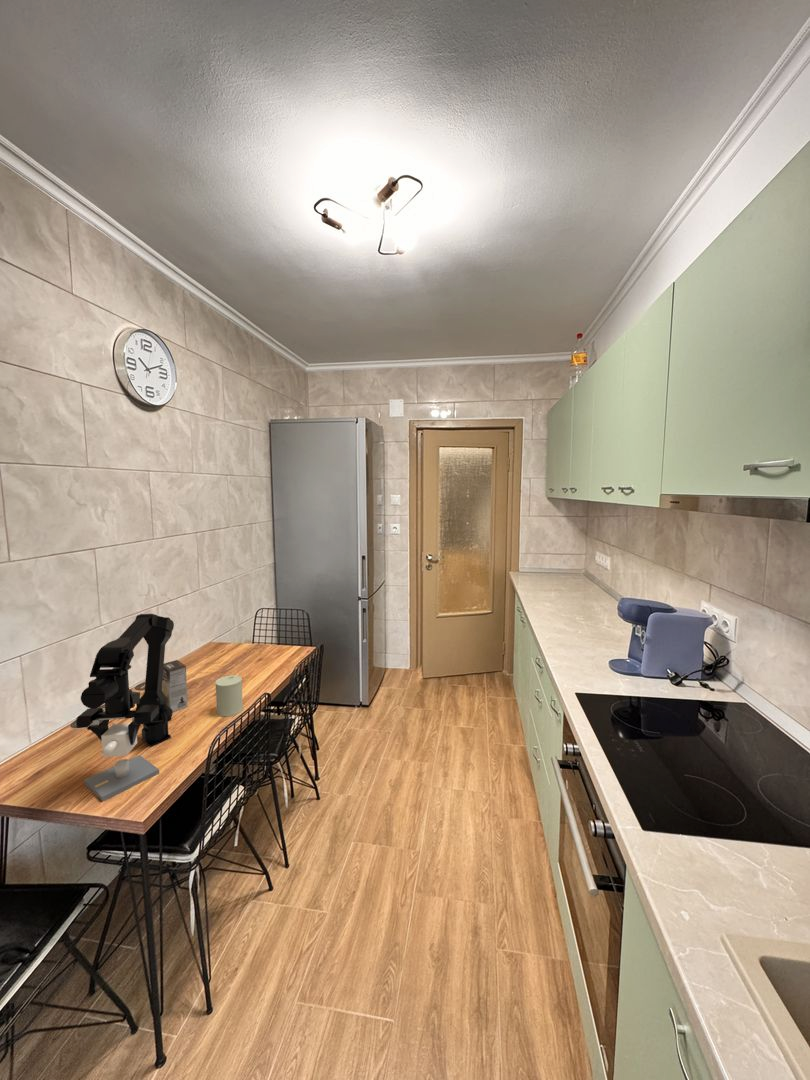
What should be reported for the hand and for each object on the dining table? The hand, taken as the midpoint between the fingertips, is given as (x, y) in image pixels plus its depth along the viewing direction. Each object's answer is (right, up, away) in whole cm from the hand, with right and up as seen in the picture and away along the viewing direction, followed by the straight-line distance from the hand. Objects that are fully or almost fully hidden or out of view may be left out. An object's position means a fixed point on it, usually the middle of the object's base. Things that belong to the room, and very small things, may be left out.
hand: (120, 745), depth 119 cm
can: (+14, -6, +40) cm, 43 cm away
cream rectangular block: (0, -1, -2) cm, 2 cm away
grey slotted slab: (0, -10, +1) cm, 10 cm away
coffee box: (-8, -6, +43) cm, 44 cm away
